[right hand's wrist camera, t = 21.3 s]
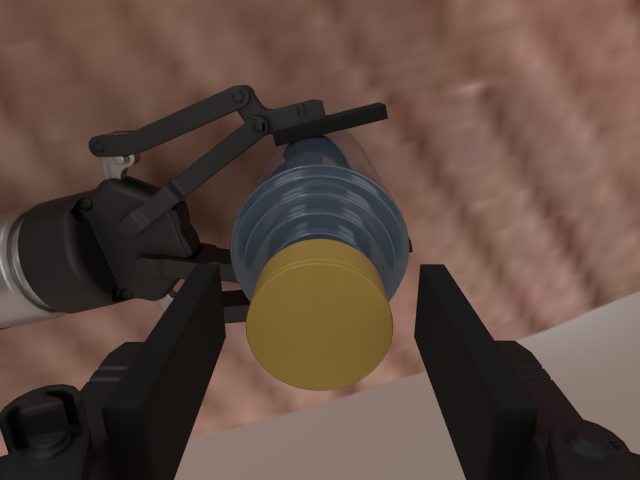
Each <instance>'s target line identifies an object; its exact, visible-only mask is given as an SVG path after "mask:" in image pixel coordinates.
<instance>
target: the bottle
mask: <svg viewBox="0 0 640 480" xmlns="http://www.w3.org/2000/svg"><path fill="white" fill-rule="evenodd" d="M311 239H328V240H334V241H338V242H342V243H345V244H347V245H350V246H351V247H353V248H355V249H357V250H358V251H360V252H361V253H363V254H364V255H365V256H366V257H367V258H368V259H369V260H370V261H371V262H372V264H373V265H374V266H375V268H376V269H377V271H378V273H379V275H380V278H381V280H382V283H383V287H384V290H385V293H386V296H387V300H388V302H389V301H390V300H391V298H392V297H393V295H394V294H395V292H396V291H397V289H398V287H399V285H400V283H401V281H402V279H403V277H404V274H405V271H406V268H407V263H408V258H409V238H408V232H407V228H406V224H405V221H404V219H403V216H402V214H401V212H400V210H399V208H398V207H397V205H396V203H395V202H394V200H393V198H392V197H391V195H390V193H389V192H388V190H387V188H386V187H385V185H384V183H383V182H382V180H381V178H380V177H379V175H378V173H377V172H376V170H375V168H374V167H373V165H372V163H371V162H370V160H369V158H368V157H367V155H366V154H365V152H364V150H363V149H362V147H361V145H360V144H359V143H358V141H357V140H356V139H355V138H354V137H353V136H352V135H351V134H349V133H348V132H347V131H345V130H340V131H336V132H332V133H328V134H324V135H320V136H316V137H312V138H308V139H304V140H300V141H296V142H292V143H288V144H284V145H280V146H278V148H277V149H276V151H275V152H274V154H273V156H272V157H271V159H270V161H269V162H268V164H267V166H266V167H265V169H264V171H263V172H262V174H261V176H260V177H259V179H258V180H257V182H256V184H255V185H254V187H253V189H252V190H251V192H250V194H249V195H248V197H247V199H246V200H245V202H244V204H243V205H242V207H241V208H240V211H239V213H238V215H237V217H236V219H235V222H234V225H233V228H232V233H231V240H230V254H231V262H232V266H233V270H234V273H235V276H236V278H237V281H238V283H239V284H240V286H241V288H242V290H243V292H244V293H245V295H246V297H247V298H248V299H249V301H250V302H251V300H252V297H253V294H254V290H255V287H256V284H257V281H258V278H259V275H260V273H261V272H262V270H263V268H264V266H265V265H266V264H267V263H268V261H269V260H270V259H271V258H272V257H273V256H274V255H275V254H277V253H278V252H279V251H281V250H282V249H284V248H286V247H288V246H290V245H292V244H295V243H297V242H301V241H305V240H311Z"/></svg>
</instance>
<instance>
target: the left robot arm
mask: <svg viewBox="0 0 640 480" xmlns="http://www.w3.org/2000/svg"><path fill="white" fill-rule="evenodd" d="M235 111H238V113H239V114H240V116H241V117H242V118H243V120H244V121H245V124H243V125H242V126H241V127H239V128H238V129H237V130H236V131H234V132H233V133H232V134H231V135H229V136H228V137H227V138H226V139H224V140H223V141H222V142H220V143H219V144H218V145H217V146H215V147H214V148H213V149H212V150H210V151H209V152H208V153H207V154H205V155H204V156H203V157H201V158H200V159H199V160H198V161H196V162H195V163H194V164H193V165H191V166H190V167H189V168H188V169H186V170H185V171H184V172H182V173H181V174H180V175H179V176H177V177H176V178H175V179H174V180H172V181H171V182H170V183H168V184H167V185H166V186H164V187H163V188H162V189H161V188H159V187H156V186H153V185H151V184H148V183H145V182H143V181H140V180H137V179H135V178H132V177H129V176H127V170H128V168H129V167H131V166H133V165H135V164H137V163H138V162H139V161H140V153H141V152H143V151H146V150H148V149H151V148H153V147H155V146H158V145H160V144H162V143H165V142H167V141H169V140H171V139H174V138H176V137H178V136H180V135H183V134H185V133H187V132H190V131H192V130H194V129H196V128H199V127H201V126H203V125H205V124H208V123H210V122H212V121H214V120H217V119H219V118H221V117H223V116H226V115H228V114H230V113H232V112H235ZM384 119H388V116H387V111H386V105H385V104H382V103H380V102H378V103H374V104H371V105H367V106H363V107H359V108H355V109H351V110H347V111H343V112H339V113H335V114H331V115H327V116H326V115H325V111H324V107H323V103H322V101H321V100H314V99H313V100H309V101H305V102H301V103H297V104H293V105H290V106H286V107H282V108H278V109H268V108H266V107H264V106H263V105H262V104H261V102H260V101H259V99H258V98H257V96H256V95H255V93H254V90H253V89H252V88H251V87H250V86H248V85H238V86H233V87H231V88H229V89H227V90H224V91H222V92H220V93H218V94H216V95H213V96H211V97H209V98H207V99H205V100H202V101H200V102H198V103H196V104H193V105H191V106H189V107H187V108H185V109H182V110H180V111H178V112H176V113H173V114H171V115H169V116H167V117H165V118H162V119H160V120H158V121H156V122H154V123H151V124H149V125H147V126H145V127H142V128H140V129H138V130H136V131H115V132H111V133H107V134H103V135H100V136H96V137H93V138H92V139H91V140H90V141H89V149H90V151H91V152H92V153H93V155H95V156H97V157H100V158H101V163H102V167H103V172H104V177H105V180H104V181H103V182H101V183H100V184H99V186H98V187H97V188H96V189H94V190H90V191H86V192H83V193H79V194H75V195H71V196H67V197H63V198H59V199H55V200H51V201H47V202H43V203H40V204H38V205H36V206H34V207H23V208H19V209H15V210H11V211H7V212H3V213H0V330H1V329H6V328H9V327H13V326H18V325H23V324H28V323H33V322H37V321H42V320H47V319H52V318H57V317H60V316H63V315H65V314H67V313H77V312H81V311H86V310H90V309H95V308H99V307H103V306H108V305H112V304H117V303H120V302H124V301H127V300H130V299H134V298H140V299H146V300H150V301H157V302H158V304H159V305H160V307H161V308H162V310H163V311H164V312H165V311H166V309H167V308H168V306H169V305H170V303H171V302H172V300H173V299H174V297H175V296H176V294H177V292H175V291H174V290H173V287H174V286H175V285H176V284H177V282H178V281H179V280H180V279H187V278H188V276H189V275H190V273H191V272H192V270H193V268H194V267H195V265H220V276H221V281H228V282H235V283H238V281H237V278H236V276H235V273H234V270H233V266H232V262H231V254H230V250H228V249H221V248H217V247H216V246H215V245H212V244H206V243H200V240H199V238H198V235H197V233H196V231H195V230H194V228H193V227H192V225H191V224H190V218H189V210H188V208H187V205H186V202H185V201H181V200H182V199H183V198H185V197H186V196H187V195H188V194H190V193H191V192H192V191H194V190H195V189H196V188H198V187H199V186H200V185H201V184H203V183H204V182H205V181H207V180H208V179H209V178H211V177H212V176H213V175H214V174H216V173H217V172H218V171H220V170H221V169H222V168H223V167H225V166H226V165H227V164H229V163H230V162H231V161H233V160H234V159H235V158H236V157H238V156H239V155H240V154H242V153H243V152H244V151H245V150H247V149H248V148H249V147H251V146H252V145H253V144H255V143H256V142H257V141H258V140H260V139H261V138H262V137H264V136H265V135H268V134H272V133H273V136H274V140H275V144H276V146H280V145H284V144H288V143H292V142H296V141H300V140H304V139H308V138H312V137H316V136H320V135H324V134H328V133H332V132H336V131H340V130H344V129H348V128H352V127H356V126H360V125H364V124H368V123H372V122H376V121H380V120H384ZM408 238H409V237H408ZM410 252H413V251H412V246H411V241H410V239H409V253H410ZM222 299H223V310H224V322H225V323H236V322H246V319H247V314H248V310H249V307H250V303H251V302H250V301H249V299H248V298H247V297H246V295H245V293H244V292H243V290H234V291H222Z"/></svg>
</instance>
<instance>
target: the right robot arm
mask: <svg viewBox="0 0 640 480" xmlns="http://www.w3.org/2000/svg"><path fill="white" fill-rule="evenodd" d="M225 338H226V333H225V322H224V310H223V299H222V287H221V276H220V265H195V267H194V268H193V270H192V272H191V273H190V275H189V276H188V278H187V279H186V281H185V282H184V284H183V285H182V287H181V288H180V290H179V291H178V293H177V294H176V296H175V297H174V299H173V300H172V302H171V303H170V305H169V306H168V308H167V309H166V311H165V312H164V314H163V315H162V317H161V318H160V320H159V321H158V323H157V324H156V326H155V327H154V329H153V330H152V332H151V333H150V335H149V336H148V338H147V339H146V341H145V342H125V343H124V344H122V345H121V346H119V347H118V348H116V349H115V350H114V351H112V352H111V353H109V354H108V356H107V357H106V358H105V359H104V361H103V362H102V363H101V365H100V366H99V367H98V370H96V371H95V373H94V374H93V375H92V376H91V378H90V381H89V382H87V383H86V384H85V386H84V387H83V388H82V390H81V391H79V390H78V389H76V388H75V387H74V386H69V385H64V384H60V385H48V386H45V387H41V388H38V389H35V390H32V391H30V392H28V393H26V394H24V395H22V396H19V397H17V398H16V399H15V400H13V401H12V402H11V403H9V404H8V405H7V406H5V407H4V409H3V410H2V411H1V413H0V429H1V432H2V435H3V438H4V441H5V444H6V447H7V450H8V453H9V454H8V455H4V456H1V457H0V480H174V478H175V475H176V472H177V470H178V467H179V464H180V462H181V459H182V456H183V453H184V450H185V448H186V445H187V442H188V439H189V437H190V434H191V431H192V428H193V426H194V423H195V420H196V417H197V415H198V412H199V409H200V406H201V404H202V401H203V398H204V395H205V393H206V390H207V387H208V384H209V382H210V379H211V376H212V373H213V371H214V368H215V365H216V362H217V360H218V357H219V354H220V351H221V349H222V346H223V343H224V340H225ZM414 338H415V340H416V343H417V346H418V349H419V351H420V354H421V357H422V360H423V362H424V365H425V368H426V371H427V373H428V376H429V379H430V382H431V384H432V387H433V390H434V393H435V395H436V398H437V401H438V404H439V406H440V409H441V412H442V415H443V417H444V420H445V423H446V426H447V429H448V431H449V434H450V437H451V439H452V442H453V445H454V448H455V450H456V453H457V456H458V459H459V461H460V464H461V467H462V470H463V472H464V475H465V478H466V480H640V455H639V454H635V453H632V452H630V450H629V449H628V447H627V446H626V444H625V443H624V442H623V441H622V440H621V439H620V438H619V437H617V436H616V435H615V434H614V433H613V432H611V431H609V430H608V429H606V428H604V427H602V426H600V425H598V424H596V423H593V422H590V421H587V420H584V419H582V417H581V416H580V415H579V414H578V412H577V411H576V410H575V408H574V407H573V406H572V404H571V403H570V402H569V401H568V399H567V398H566V397H565V395H564V394H563V393H562V392H561V390H560V389H559V388H558V386H557V385H556V384H555V382H554V381H553V380H551V377H550V376H549V375H548V373H547V372H546V371H545V369H542V366H541V364H540V363H539V362H538V360H537V359H536V358H535V356H534V355H533V354H532V352H530V351H529V350H527V349H526V348H524V347H523V346H521V345H520V344H519V343H517V342H516V341H494V339H493V338H492V336H491V335H490V333H489V332H488V330H487V329H486V327H485V326H484V324H483V323H482V321H481V320H480V318H479V317H478V315H477V314H476V312H475V311H474V309H473V308H472V306H471V305H470V303H469V302H468V300H467V299H466V297H465V296H464V294H463V293H462V291H461V290H460V288H459V287H458V285H457V284H456V282H455V281H454V279H453V278H452V276H451V275H450V273H449V272H448V270H447V269H446V267H445V265H420V276H419V287H418V299H417V310H416V321H415V333H414Z"/></svg>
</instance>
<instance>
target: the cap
mask: <svg viewBox="0 0 640 480" xmlns="http://www.w3.org/2000/svg"><path fill="white" fill-rule="evenodd" d="M246 334H247V339H248V343H249V346H250V348H251V351H252V353H253V355H254V356H255V358H256V360H257V361H258V362H259V363H260V365H261V366H262V367H263V368H264V369H265V370H266V371H267V372H268V373H270V374H271V375H272V376H273V377H275V378H277V379H278V380H280V381H282V382H284V383H286V384H288V385H291V386H294V387H297V388H301V389H306V390H315V391H321V390H333V389H338V388H342V387H345V386H348V385H351V384H353V383H355V382H357V381H359V380H361V379H362V378H364V377H366V376H367V375H368V374H369V373H371V372H372V371H373V370H374V369H375V368H376V367H377V366H378V365H379V364H380V362H381V361H382V360H383V358H384V357H385V355H386V353H387V351H388V349H389V346H390V343H391V340H392V335H393V319H392V314H391V310H390V306H389V303H388V300H387V296H386V293H385V290H384V287H383V283H382V280H381V278H380V275H379V273H378V271H377V269H376V268H375V266H374V265H373V264H372V262H371V261H370V260H369V259H368V258H367V257H366V256H365V255H364V254H363V253H361V252H360V251H358V250H357V249H355V248H353V247H351V246H350V245H347V244H345V243H342V242H338V241H334V240H328V239H311V240H305V241H301V242H297V243H295V244H292V245H290V246H288V247H286V248H284V249H282V250H281V251H279V252H278V253H277V254H275V255H274V256H273V257H272V258H271V259H270V260H269V261H268V263H267V264H266V265H265V266H264V268H263V270H262V272H261V273H260V275H259V278H258V281H257V284H256V287H255V290H254V294H253V297H252V300H251V303H250V307H249V310H248V314H247V319H246Z"/></svg>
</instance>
